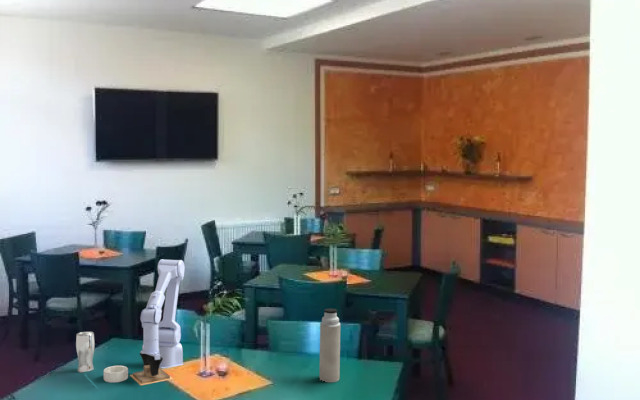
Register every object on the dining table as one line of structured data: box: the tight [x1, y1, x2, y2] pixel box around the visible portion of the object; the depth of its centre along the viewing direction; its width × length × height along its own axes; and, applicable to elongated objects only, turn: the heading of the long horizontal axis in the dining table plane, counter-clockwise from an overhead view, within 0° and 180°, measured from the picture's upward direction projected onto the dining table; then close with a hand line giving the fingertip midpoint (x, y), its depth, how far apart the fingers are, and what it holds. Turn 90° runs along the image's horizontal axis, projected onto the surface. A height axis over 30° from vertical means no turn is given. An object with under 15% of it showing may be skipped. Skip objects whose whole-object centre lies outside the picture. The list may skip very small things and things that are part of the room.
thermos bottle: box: [318, 308, 341, 383], centre depth 257 cm, size 8×8×28 cm
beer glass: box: [75, 331, 95, 374], centre depth 263 cm, size 7×7×15 cm
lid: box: [132, 365, 171, 385], centre depth 256 cm, size 11×11×4 cm
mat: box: [129, 374, 174, 386], centre depth 256 cm, size 13×13×1 cm
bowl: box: [103, 365, 129, 383], centre depth 254 cm, size 9×9×4 cm
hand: (151, 372), depth 256 cm, fingers open, 6 cm apart
